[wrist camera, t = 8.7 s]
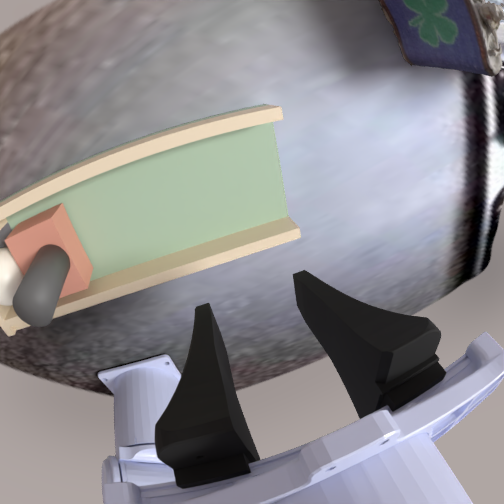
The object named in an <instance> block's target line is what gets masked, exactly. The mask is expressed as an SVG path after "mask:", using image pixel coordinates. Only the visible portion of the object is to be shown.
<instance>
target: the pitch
mask: <svg viewBox="0 0 504 504" xmlns="http://www.w3.org/2000/svg"><path fill="white" fill-rule="evenodd" d="M279 120H283V114H282V109H281V107H280V106H274V105H267V104H263V105H258V106H253V107H248V108H244V109H239V110H235V111H230V112H226V113H222V114H218V115H214V116H210V117H206V118H203V119H199V120H195V121H192V122H188V123H185V124H181V125H178V126H175V127H171V128H168V129H165V130H162V131H159V132H156V133H153V134H150V135H147V136H144V137H141V138H138V139H135V140H132V141H130V142H127V143H124V144H121V145H119V146H116V147H113V148H111V149H108V150H106V151H103V152H101V153H98V154H96V155H93V156H91V157H89V158H86V159H84V160H82V161H79V162H77V163H75V164H72V165H70V166H68V167H66V168H64V169H61V170H59V171H57V172H55V173H53V174H51V175H49V176H47V177H45V178H43V179H41V180H39V181H37V182H35V183H33V184H31V185H29V186H27V187H25V188H23V189H21V190H19V191H18V192H16V193H14V194H12V195H10V196H9V197H7V198H5V199H3V200H2V201H0V248H8V246H7V245H6V243H5V241H4V240H5V239H6V238H7V237H8V235H9V234H10V233H11V232H12V230H13V229H14V228H15V227H16V226H17V224H18V223H20V222H22V221H24V220H26V219H28V218H31V217H33V216H35V215H37V214H39V213H41V212H43V211H45V210H47V209H50V208H52V207H54V206H56V205H58V204H61V203H63V205H64V207H65V210H66V212H67V214H68V216H69V219H70V221H71V223H72V225H73V227H74V230H75V232H76V234H77V236H78V238H79V240H80V242H81V244H82V246H83V248H84V250H85V252H86V254H87V256H88V258H89V260H90V262H91V264H92V266H93V271H92V275H91V278H90V282H89V286H88V289H85V290H82V291H79V292H76V293H73V294H70V295H67V296H65V297H62V298H59V300H58V303H57V306H56V309H55V312H54V315H53V318H56V317H59V316H63V315H66V314H69V313H72V312H75V311H78V310H81V309H84V308H87V307H90V306H93V305H96V304H99V303H103V302H106V301H109V300H112V299H115V298H118V297H121V296H124V295H127V294H130V293H133V292H136V291H139V290H142V289H146V288H149V287H152V286H155V285H158V284H161V283H164V282H167V281H170V280H173V279H176V278H179V277H182V276H185V275H188V274H191V273H195V272H198V271H201V270H204V269H207V268H210V267H213V266H216V265H219V264H222V263H225V262H228V261H231V260H234V259H237V258H240V257H243V256H246V255H250V254H253V253H256V252H259V251H262V250H265V249H268V248H271V247H274V246H277V245H280V244H283V243H286V242H289V241H292V240H295V239H298V238H301V235H300V228H299V227H298V226H297V225H296V224H295V222H294V221H293V220H292V219H291V218H290V217H289V216H288V210H287V204H286V197H285V191H284V185H283V179H282V172H281V166H280V160H279V155H278V149H277V143H276V137H275V132H274V126H273V122H274V121H279ZM0 326H1V328H2V329H3V330H4V331H5V333H6V334H7V335H8V337H9V336H12V335H15V333H16V330H19V329H22V328H26V327H29V326H31V325H29V324H27V323H25V322H24V321H22V320H21V319H20V318H19V317H18V315H17V314H16V313H15V311H14V308H13V305H11V306H4V305H0Z"/></svg>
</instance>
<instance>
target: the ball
mask: <svg viewBox="0 0 504 504" xmlns="http://www.w3.org/2000/svg"><path fill="white" fill-rule="evenodd" d="M23 277H24V275H23V273H22V272H21V270H20V268H19V266H18V265H17V263H16V261H15V259H14V258H13V256H12V254H11V252H10V250H9V248H0V305H4V306H11V305H13V303H12V301H13V297H14V295H15V293H16V291H17V289H18V287H19V285H20V283H21V281H22V279H23Z"/></svg>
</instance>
